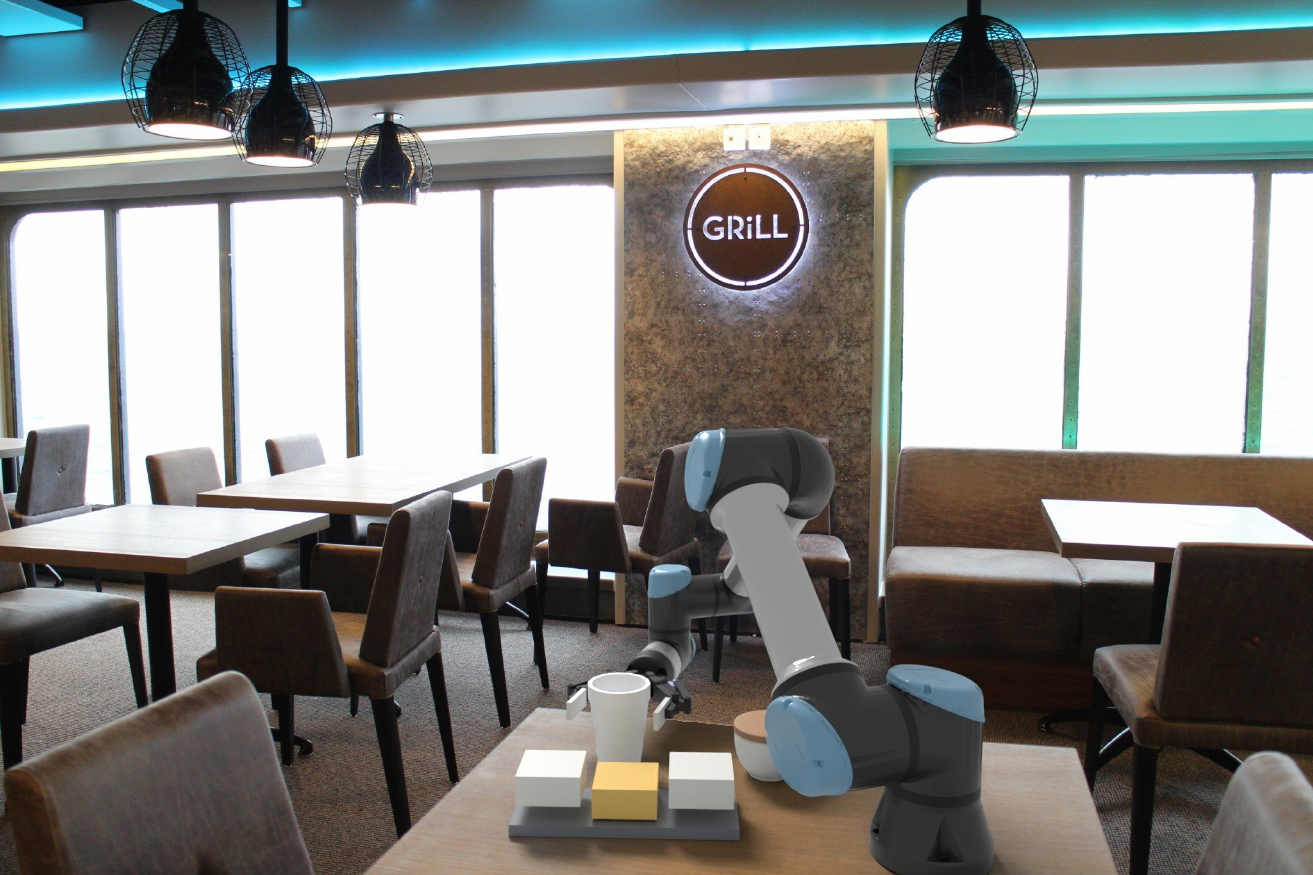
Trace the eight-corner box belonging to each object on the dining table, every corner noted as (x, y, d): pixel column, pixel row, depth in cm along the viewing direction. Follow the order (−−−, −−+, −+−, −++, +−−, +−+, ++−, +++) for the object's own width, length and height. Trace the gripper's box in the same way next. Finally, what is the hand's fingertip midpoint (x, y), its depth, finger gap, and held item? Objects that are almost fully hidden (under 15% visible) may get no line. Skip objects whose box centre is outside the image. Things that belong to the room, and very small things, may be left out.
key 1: (586, 778, 136) (586, 750, 136) (580, 806, 128) (579, 777, 128) (525, 777, 137) (525, 749, 136) (515, 805, 128) (515, 776, 128)
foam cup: (653, 754, 153) (653, 673, 152) (647, 780, 144) (647, 694, 142) (592, 752, 154) (592, 671, 153) (583, 777, 145) (582, 692, 143)
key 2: (730, 780, 136) (731, 752, 135) (733, 809, 127) (734, 779, 127) (669, 779, 136) (669, 751, 136) (668, 808, 128) (668, 778, 127)
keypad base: (735, 800, 137) (735, 790, 137) (739, 840, 126) (739, 829, 126) (522, 797, 138) (522, 787, 138) (508, 836, 127) (508, 825, 127)
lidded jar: (721, 764, 150) (721, 704, 149) (783, 753, 153) (784, 695, 153) (753, 793, 140) (753, 730, 139) (818, 782, 144) (819, 720, 143)
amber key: (658, 790, 136) (658, 762, 136) (656, 819, 128) (656, 790, 127) (597, 789, 137) (597, 761, 136) (591, 818, 128) (591, 789, 128)
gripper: (725, 700, 162) (693, 751, 141) (583, 685, 169) (534, 731, 149) (725, 656, 161) (693, 700, 141) (583, 642, 168) (533, 683, 148)
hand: (611, 716), depth 145 cm, fingers open, 13 cm apart
